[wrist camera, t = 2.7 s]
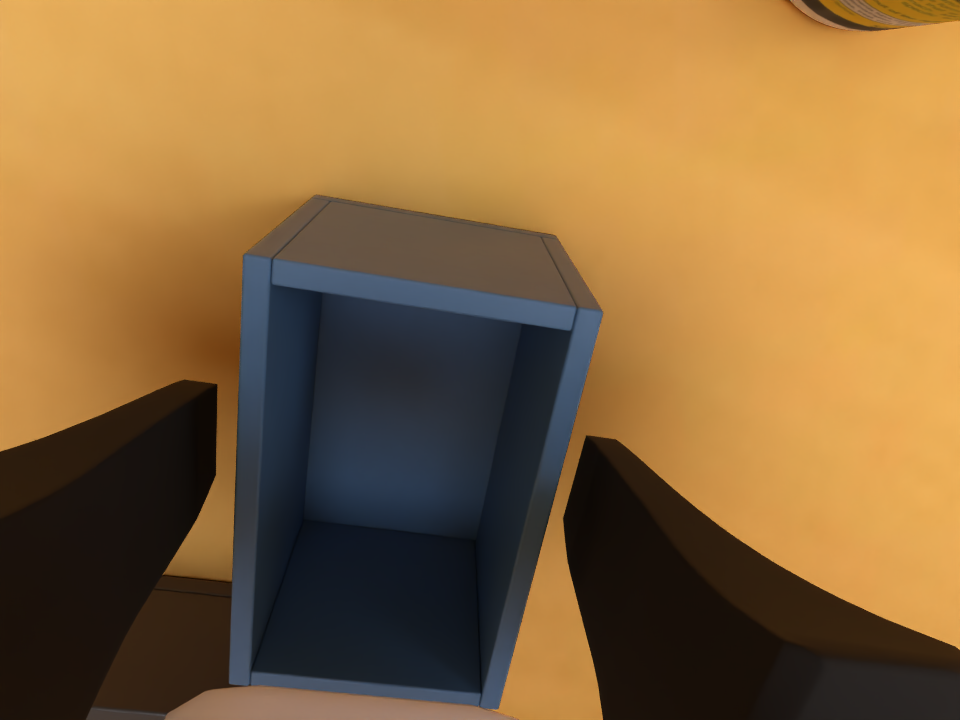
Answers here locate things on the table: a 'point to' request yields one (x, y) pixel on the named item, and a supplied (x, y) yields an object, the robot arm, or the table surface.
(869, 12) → the supplement bottle
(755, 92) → the table surface
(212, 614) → the charcoal bin
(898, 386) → the table surface
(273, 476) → the blue bin
